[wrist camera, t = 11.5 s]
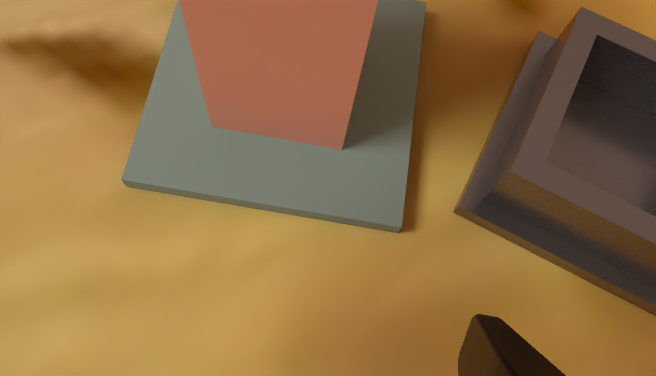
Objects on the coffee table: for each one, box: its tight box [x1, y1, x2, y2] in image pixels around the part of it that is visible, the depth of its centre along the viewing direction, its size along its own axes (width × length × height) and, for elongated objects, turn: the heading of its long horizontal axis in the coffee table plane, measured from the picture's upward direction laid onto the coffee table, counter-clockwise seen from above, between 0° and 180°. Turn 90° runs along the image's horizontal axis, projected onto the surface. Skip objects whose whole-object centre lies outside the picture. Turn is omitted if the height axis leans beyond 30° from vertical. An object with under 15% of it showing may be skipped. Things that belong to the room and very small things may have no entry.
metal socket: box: [454, 7, 656, 316], centre depth 18 cm, size 8×8×3 cm
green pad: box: [121, 0, 426, 233], centre depth 19 cm, size 9×9×1 cm
